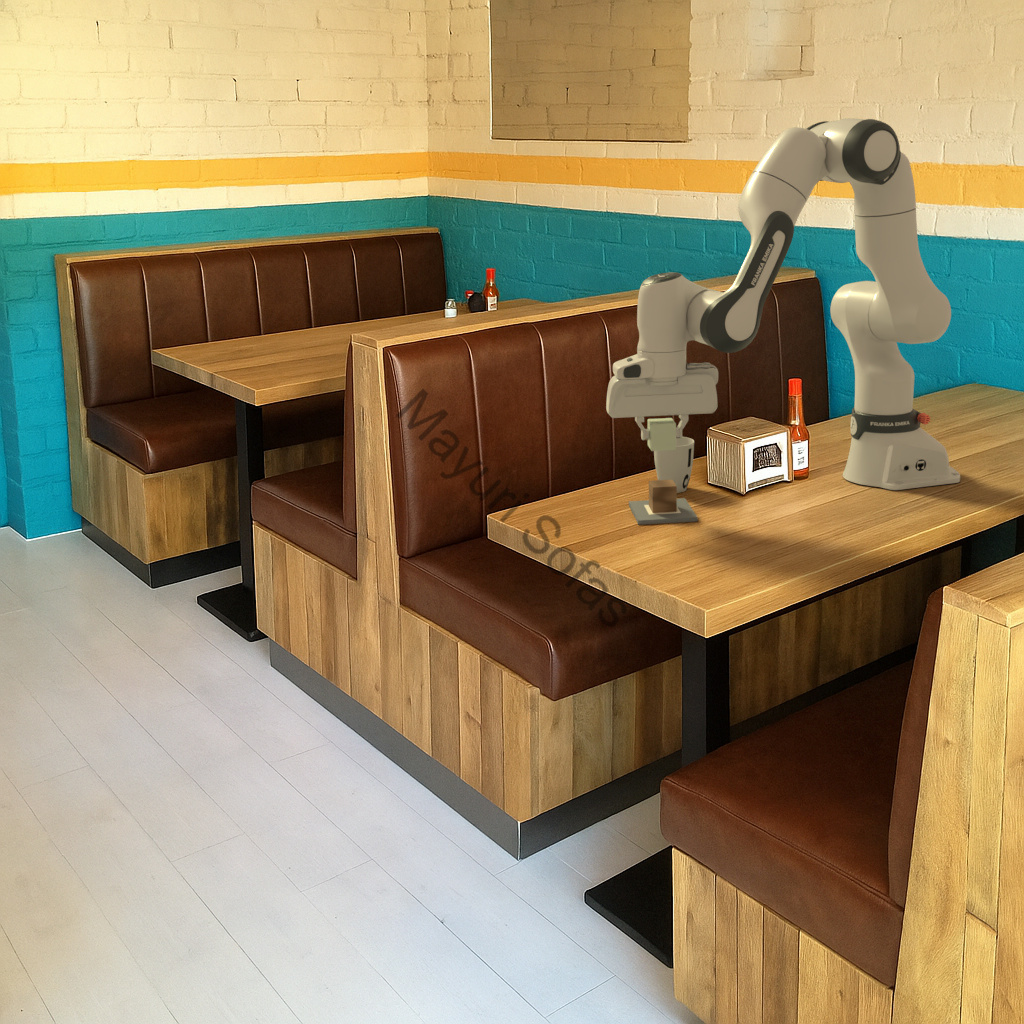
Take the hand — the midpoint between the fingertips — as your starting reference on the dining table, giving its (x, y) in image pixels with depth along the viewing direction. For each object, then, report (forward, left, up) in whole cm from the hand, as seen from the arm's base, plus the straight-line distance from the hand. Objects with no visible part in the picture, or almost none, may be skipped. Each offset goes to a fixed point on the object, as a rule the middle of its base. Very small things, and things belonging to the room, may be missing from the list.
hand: (661, 438), depth 210 cm
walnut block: (0, 0, -14) cm, 14 cm away
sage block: (0, 0, -2) cm, 2 cm away
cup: (-5, -15, -15) cm, 22 cm away
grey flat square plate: (0, 0, -15) cm, 15 cm away
